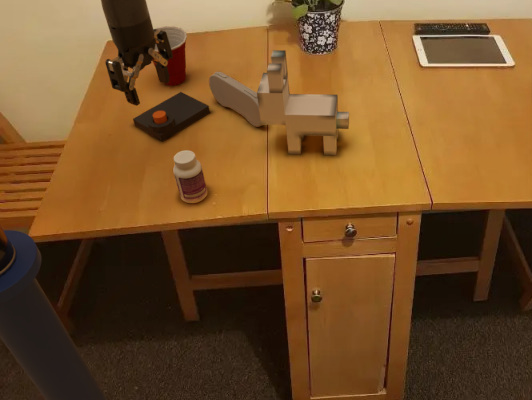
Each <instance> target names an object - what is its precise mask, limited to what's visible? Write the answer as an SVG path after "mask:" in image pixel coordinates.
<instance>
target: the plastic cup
mask: <svg viewBox="0 0 532 400" xmlns="http://www.w3.org/2000/svg"><path fill="white" fill-rule="evenodd" d="M154 29H158V30H162V31H165V32H166V34H167V37H168V40H169V43H170V47H171V50H172V53H173V58H172V59H169V60H168V64H167V68H168V72H169V82H168V83H167V84H165V83H163V84H164V85H165V86H168V87H176V86H180V85H182V84H183V83H185V81H187V79H186V78H187V60H186V59H187V58H186V45H187V44H186V42H187V39H188V34H187V31H185V30H184V29H183V28H181V27H178V26H173V25H171V26H170V25H165V26H159V27H155V28H153V30H154ZM164 50H165V49H164ZM155 51H156V52H157V53H159V51H158V48H157V45H155ZM152 63H153V65H154V66H155V65H156V63H154V62H153V61H152Z"/></svg>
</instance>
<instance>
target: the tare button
mask: <svg viewBox="0 0 532 400" xmlns="http://www.w3.org/2000/svg"><path fill="white" fill-rule="evenodd" d="M153 119H154V122H155V123H156V124H162V123H165V122H166V121H167V116H166V113H165V112H164V111H156V112H155V113H153Z"/></svg>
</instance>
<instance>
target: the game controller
mask: <svg viewBox="0 0 532 400" xmlns="http://www.w3.org/2000/svg"><path fill="white" fill-rule="evenodd" d="M208 83H209V88H210V91H211V93H212V95H213V97H214V99H215V100H216V101H217V103H218V104H220V105H221V106H222V107H223V108H230V109H231V110H232V111H235V112H237V113H238V114H239V115H241V116H242V117H244V118H245V120H246V121H247V122H248V123H250V125H252V126H253V127H256V128H259V127H262V126H263V125H261V119H260V112H259V104H258V97H257V91H255V90H253V89H251V88H250V87H248V86H247V85H245V84H243V83H242V82H240V81H238V80H236V79H234V78H233V77H231V76H230V75H228V74H226V73H224V72H222V71H215V72H214V73H213V74H211V75H210V76H209V80H208Z"/></svg>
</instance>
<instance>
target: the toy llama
mask: <svg viewBox="0 0 532 400" xmlns="http://www.w3.org/2000/svg"><path fill="white" fill-rule="evenodd" d="M270 61H271V63H268V65H267V68H266V72H262V75H261V79H260V82H259V85H258V88H257V91H256V93H257V97H258V104H259V112H260V119H261V125H262V126H265V125H267V126H270V125H271V126H285V131H286V142H287V152H288V155H301V153H302V148H303V145H302V141H304V138H305V136H312V137H313V136H315V137H316V136H317V137H322V139H323V156H337V151H338V141H339V135H340V134H339V130H349V127H350V111H339V101H338V98H339V97H338V96H339V95H338V94H327V93H326V94H323V93H322V94H321V93H320V94H319V93H318V94H317V93H315V94H314V93H290V84H289V83H290V82H289V72H288V64H287V63H288V62H287V51H286V50H285V49H284V50H283V49H282V50H278V49H277V50H276V49H275V50H274V49H273V50H272V51H271V55H270Z"/></svg>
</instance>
